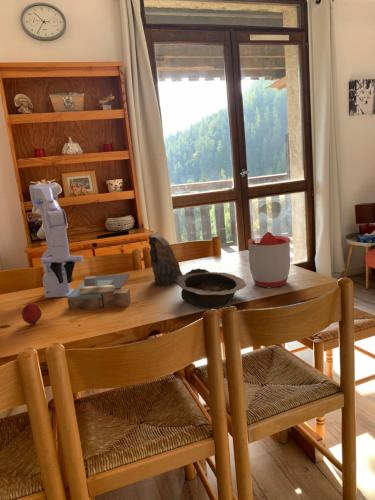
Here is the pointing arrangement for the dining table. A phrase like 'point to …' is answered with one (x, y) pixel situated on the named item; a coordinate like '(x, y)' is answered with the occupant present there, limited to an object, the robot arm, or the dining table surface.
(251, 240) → the citrus juicer
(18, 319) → the dining table surface
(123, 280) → the mat
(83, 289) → the beige rectangular bar
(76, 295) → the lid
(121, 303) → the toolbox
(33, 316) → the onion
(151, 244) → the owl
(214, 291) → the stone bowl
